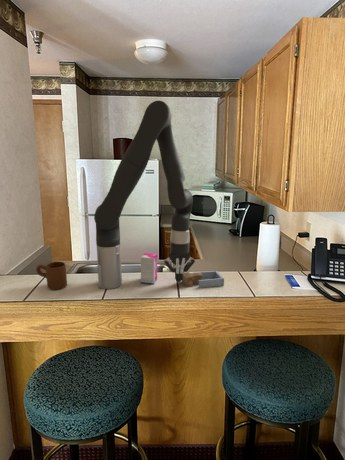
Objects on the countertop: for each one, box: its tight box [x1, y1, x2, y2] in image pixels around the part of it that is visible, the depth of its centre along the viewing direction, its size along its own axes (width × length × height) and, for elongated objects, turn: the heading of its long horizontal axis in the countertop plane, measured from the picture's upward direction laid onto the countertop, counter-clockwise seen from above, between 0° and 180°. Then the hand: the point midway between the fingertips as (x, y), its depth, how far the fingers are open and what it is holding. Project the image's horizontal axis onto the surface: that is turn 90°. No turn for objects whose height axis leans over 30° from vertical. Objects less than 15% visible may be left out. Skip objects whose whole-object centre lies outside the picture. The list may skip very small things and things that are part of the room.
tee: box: [181, 271, 203, 288], centre depth 135 cm, size 8×6×4 cm
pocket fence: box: [193, 270, 225, 289], centre depth 137 cm, size 10×9×3 cm
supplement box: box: [140, 252, 158, 285], centre depth 137 cm, size 6×6×12 cm
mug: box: [35, 261, 68, 291], centre depth 132 cm, size 12×8×9 cm, turn 83°
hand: (178, 281), depth 134 cm, fingers closed
